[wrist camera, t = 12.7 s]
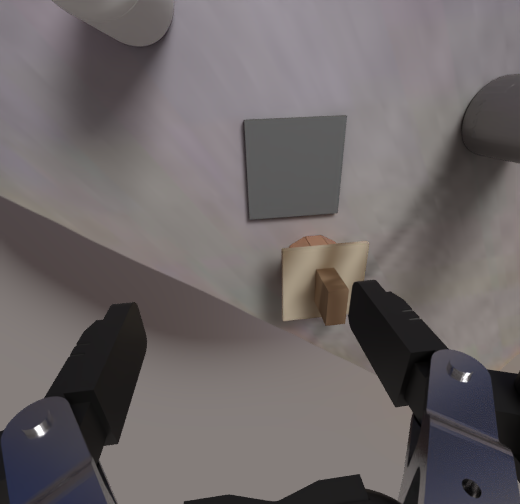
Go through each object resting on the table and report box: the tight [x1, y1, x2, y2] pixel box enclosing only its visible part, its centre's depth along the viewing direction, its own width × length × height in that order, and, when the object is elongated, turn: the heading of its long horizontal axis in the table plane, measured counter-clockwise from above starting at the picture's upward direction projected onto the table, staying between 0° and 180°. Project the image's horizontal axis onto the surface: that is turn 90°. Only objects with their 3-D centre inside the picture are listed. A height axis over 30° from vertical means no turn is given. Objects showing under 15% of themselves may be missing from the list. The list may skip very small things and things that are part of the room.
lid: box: [282, 241, 369, 326], centre depth 37 cm, size 11×11×6 cm
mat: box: [244, 115, 347, 220], centre depth 36 cm, size 12×12×1 cm
